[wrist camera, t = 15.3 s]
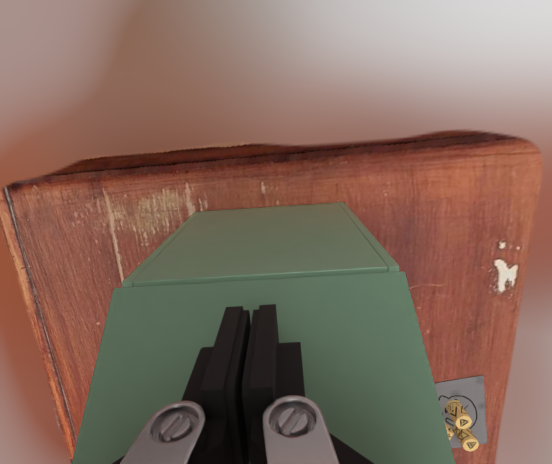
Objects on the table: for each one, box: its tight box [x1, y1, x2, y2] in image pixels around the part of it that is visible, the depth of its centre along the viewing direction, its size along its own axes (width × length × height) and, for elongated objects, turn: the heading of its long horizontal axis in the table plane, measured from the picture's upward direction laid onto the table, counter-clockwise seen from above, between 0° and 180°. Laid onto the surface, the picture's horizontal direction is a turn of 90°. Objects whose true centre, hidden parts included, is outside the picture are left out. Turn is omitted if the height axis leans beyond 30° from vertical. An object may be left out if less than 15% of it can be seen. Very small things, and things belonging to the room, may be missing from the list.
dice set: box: [445, 399, 480, 451], centre depth 33 cm, size 5×5×2 cm
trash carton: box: [122, 202, 399, 288], centre depth 24 cm, size 15×12×14 cm
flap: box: [72, 272, 455, 464], centre depth 12 cm, size 7×12×1 cm
